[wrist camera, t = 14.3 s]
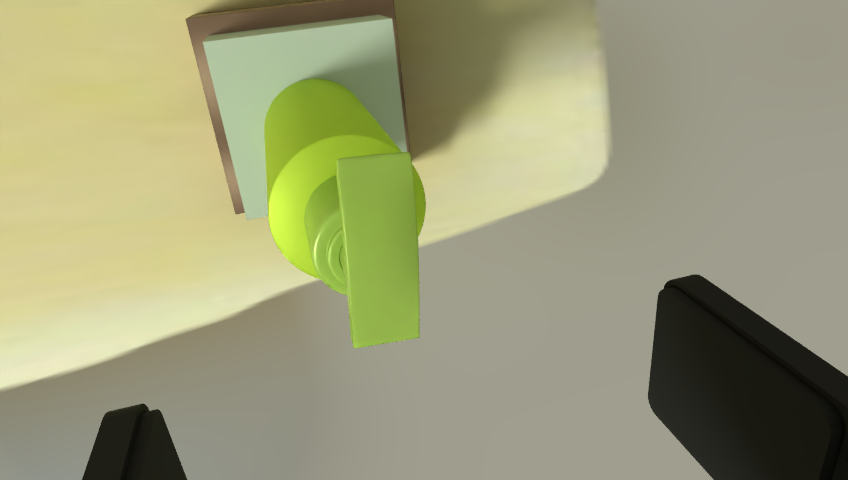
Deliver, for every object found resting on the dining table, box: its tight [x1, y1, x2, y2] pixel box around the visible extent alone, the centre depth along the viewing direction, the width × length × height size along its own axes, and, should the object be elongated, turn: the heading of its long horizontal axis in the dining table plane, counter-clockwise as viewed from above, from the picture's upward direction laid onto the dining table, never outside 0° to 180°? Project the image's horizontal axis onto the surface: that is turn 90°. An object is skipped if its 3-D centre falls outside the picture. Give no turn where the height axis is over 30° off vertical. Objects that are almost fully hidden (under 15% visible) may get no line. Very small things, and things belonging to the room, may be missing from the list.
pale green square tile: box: [203, 15, 407, 220], centre depth 35 cm, size 10×10×4 cm
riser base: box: [186, 0, 410, 214], centre depth 38 cm, size 12×12×4 cm
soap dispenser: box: [264, 79, 426, 348], centre depth 24 cm, size 6×7×20 cm
